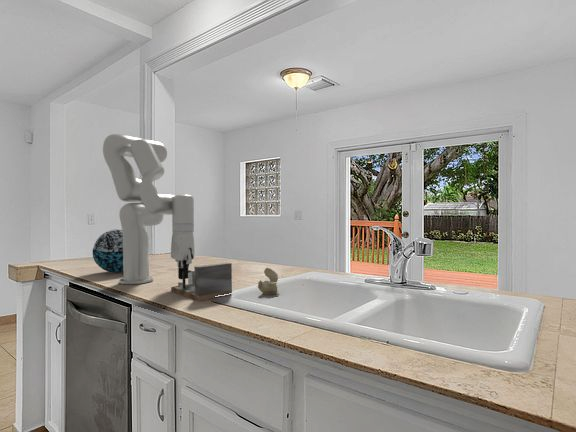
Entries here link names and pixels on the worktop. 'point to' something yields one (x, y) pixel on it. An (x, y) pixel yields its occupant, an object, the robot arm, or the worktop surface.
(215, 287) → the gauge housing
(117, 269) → the decorative sphere
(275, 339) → the worktop surface
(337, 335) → the worktop surface
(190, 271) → the gauge plunger
